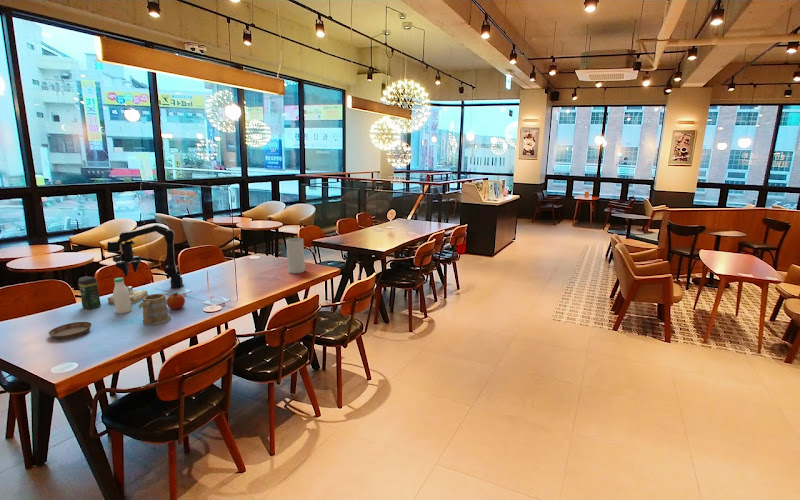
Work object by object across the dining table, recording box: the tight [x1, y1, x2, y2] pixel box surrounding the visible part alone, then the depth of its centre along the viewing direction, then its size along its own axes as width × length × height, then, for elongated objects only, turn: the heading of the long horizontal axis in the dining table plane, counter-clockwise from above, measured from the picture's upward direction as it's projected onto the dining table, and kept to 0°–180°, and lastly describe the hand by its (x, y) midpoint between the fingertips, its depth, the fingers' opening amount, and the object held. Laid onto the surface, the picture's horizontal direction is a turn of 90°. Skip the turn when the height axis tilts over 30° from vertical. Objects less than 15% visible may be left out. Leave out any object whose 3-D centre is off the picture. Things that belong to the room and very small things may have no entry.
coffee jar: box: [77, 275, 101, 310], centre depth 254 cm, size 10×8×19 cm
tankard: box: [137, 293, 172, 326], centre depth 229 cm, size 20×13×15 cm, turn 178°
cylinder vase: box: [285, 237, 306, 274], centre depth 327 cm, size 12×12×25 cm
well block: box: [107, 289, 149, 304], centre depth 268 cm, size 16×14×4 cm
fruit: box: [166, 292, 186, 310], centre depth 252 cm, size 10×10×10 cm
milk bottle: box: [112, 277, 132, 315], centre depth 246 cm, size 8×8×20 cm
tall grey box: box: [126, 285, 134, 295], centre depth 268 cm, size 5×3×8 cm, turn 90°
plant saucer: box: [48, 321, 93, 340], centre depth 218 cm, size 18×18×3 cm
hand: (130, 274), depth 280 cm, fingers open, 9 cm apart
